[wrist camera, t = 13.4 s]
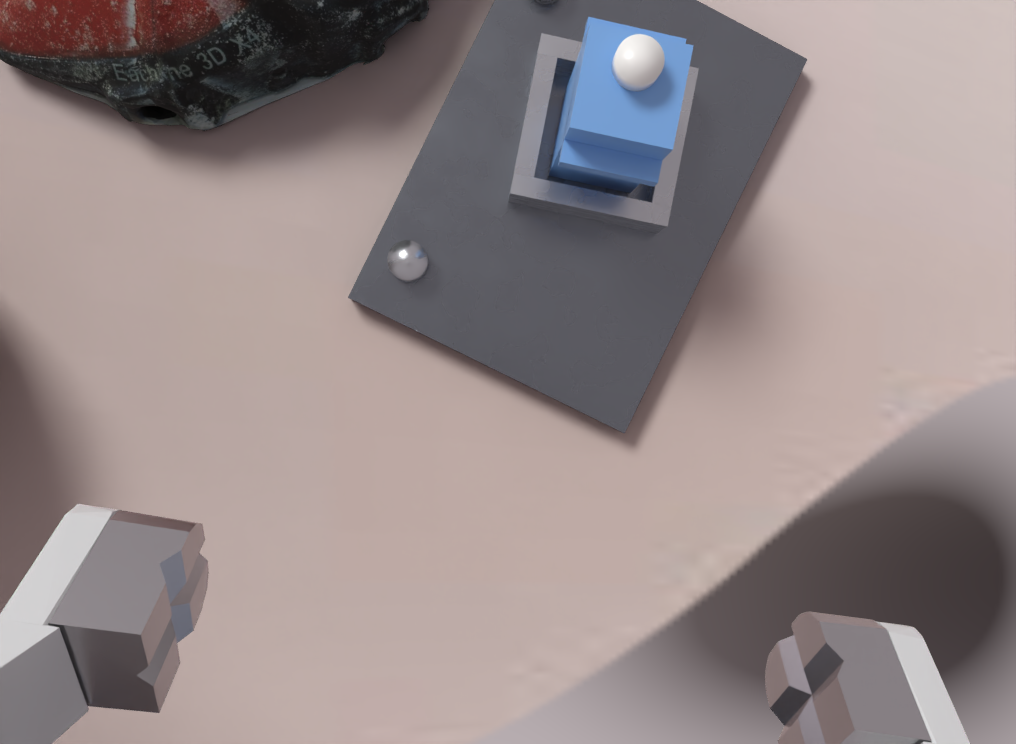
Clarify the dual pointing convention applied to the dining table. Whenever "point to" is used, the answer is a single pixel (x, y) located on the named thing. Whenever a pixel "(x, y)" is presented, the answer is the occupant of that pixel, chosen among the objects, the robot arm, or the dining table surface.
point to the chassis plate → (566, 263)
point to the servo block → (621, 106)
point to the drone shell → (195, 50)
